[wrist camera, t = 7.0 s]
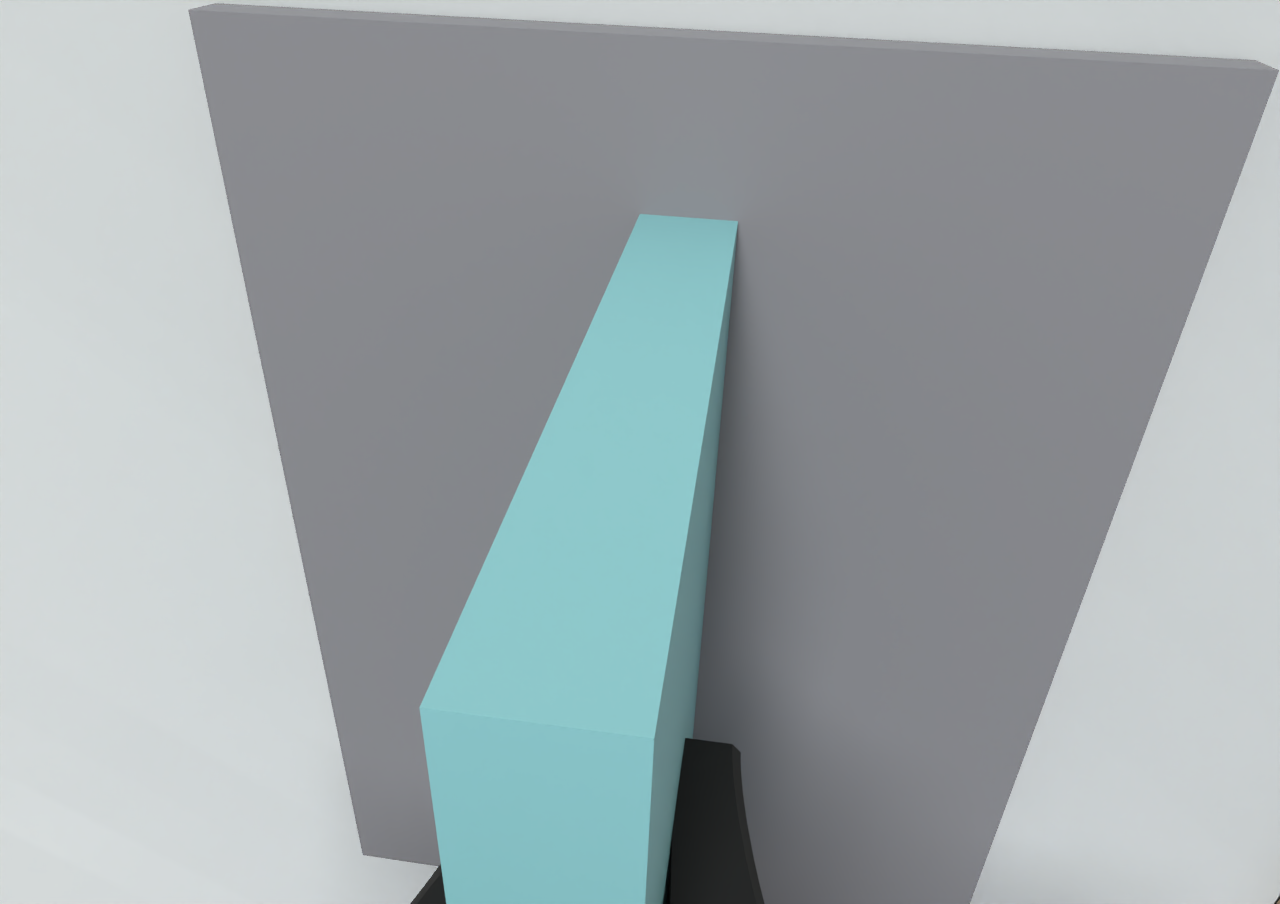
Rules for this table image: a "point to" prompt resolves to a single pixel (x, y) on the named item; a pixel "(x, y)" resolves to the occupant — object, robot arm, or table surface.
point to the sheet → (592, 604)
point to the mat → (730, 370)
